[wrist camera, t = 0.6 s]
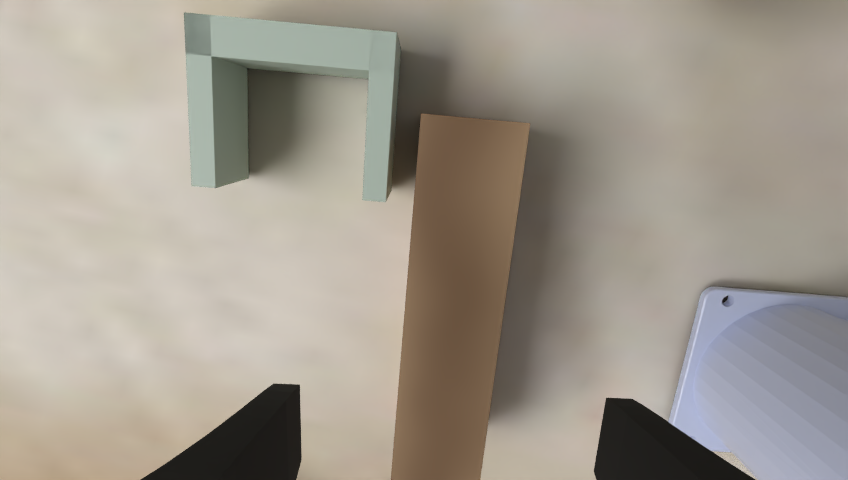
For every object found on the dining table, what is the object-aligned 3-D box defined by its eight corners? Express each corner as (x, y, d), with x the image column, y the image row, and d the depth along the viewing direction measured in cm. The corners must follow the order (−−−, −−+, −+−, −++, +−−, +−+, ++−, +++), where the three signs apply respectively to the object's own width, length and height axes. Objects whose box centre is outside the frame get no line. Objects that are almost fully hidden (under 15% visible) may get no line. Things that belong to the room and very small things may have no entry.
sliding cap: (400, 48, 17) (396, 32, 14) (391, 189, 18) (385, 202, 15) (225, 32, 17) (184, 12, 14) (228, 176, 18) (191, 186, 15)
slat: (506, 124, 18) (530, 123, 14) (468, 422, 21) (479, 487, 18) (420, 116, 18) (421, 113, 14) (396, 417, 21) (390, 481, 17)
